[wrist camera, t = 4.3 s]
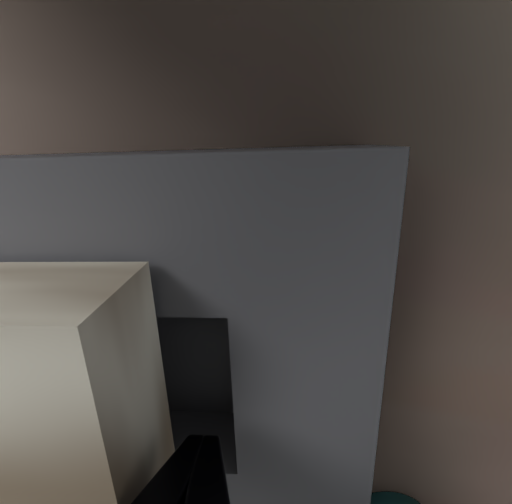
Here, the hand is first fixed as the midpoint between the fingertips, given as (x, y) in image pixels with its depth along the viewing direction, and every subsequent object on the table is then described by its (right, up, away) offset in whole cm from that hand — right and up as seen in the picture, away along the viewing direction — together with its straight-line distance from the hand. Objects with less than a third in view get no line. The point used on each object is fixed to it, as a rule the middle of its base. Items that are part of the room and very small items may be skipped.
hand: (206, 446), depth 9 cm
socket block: (-2, +2, +5) cm, 5 cm away
